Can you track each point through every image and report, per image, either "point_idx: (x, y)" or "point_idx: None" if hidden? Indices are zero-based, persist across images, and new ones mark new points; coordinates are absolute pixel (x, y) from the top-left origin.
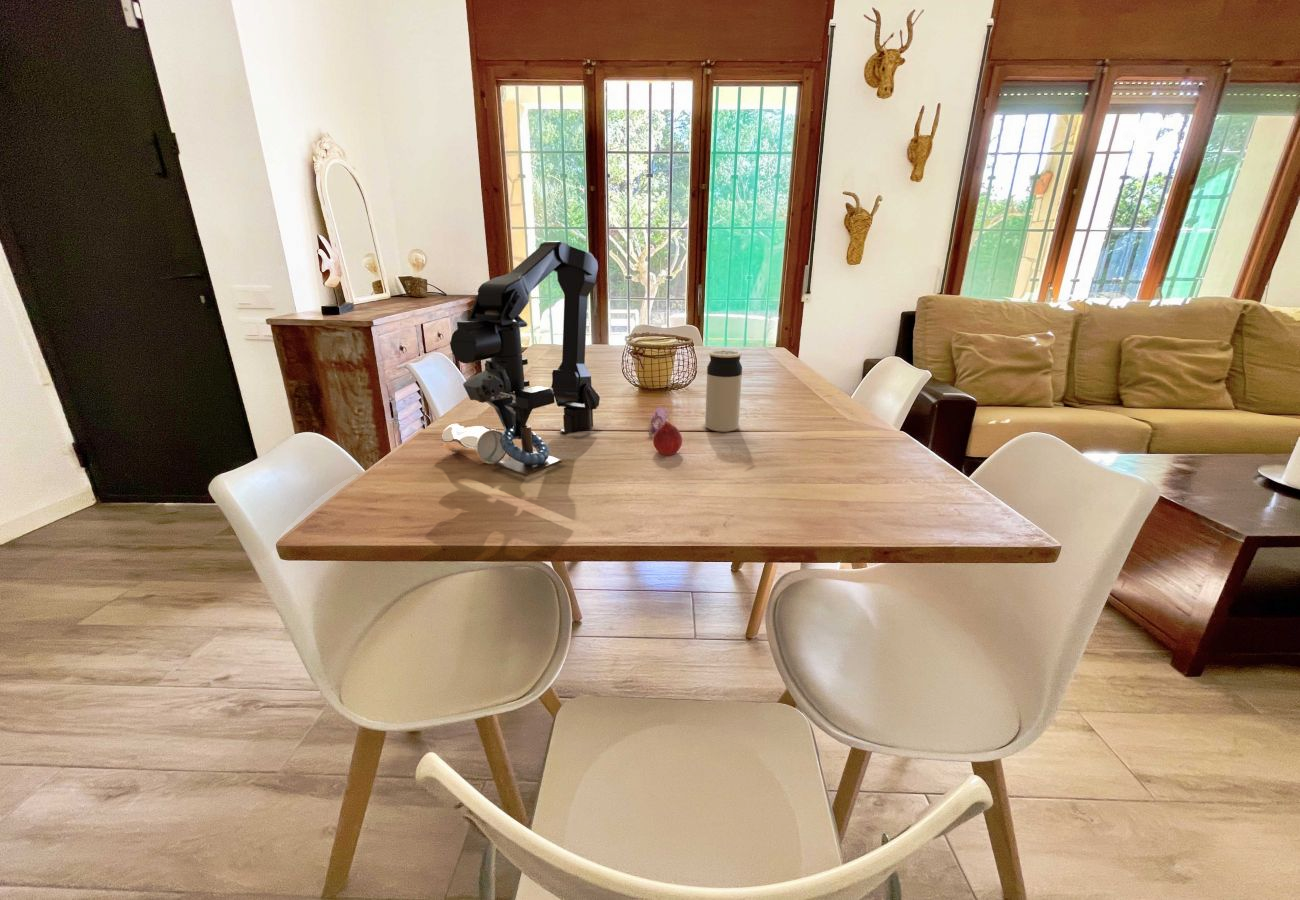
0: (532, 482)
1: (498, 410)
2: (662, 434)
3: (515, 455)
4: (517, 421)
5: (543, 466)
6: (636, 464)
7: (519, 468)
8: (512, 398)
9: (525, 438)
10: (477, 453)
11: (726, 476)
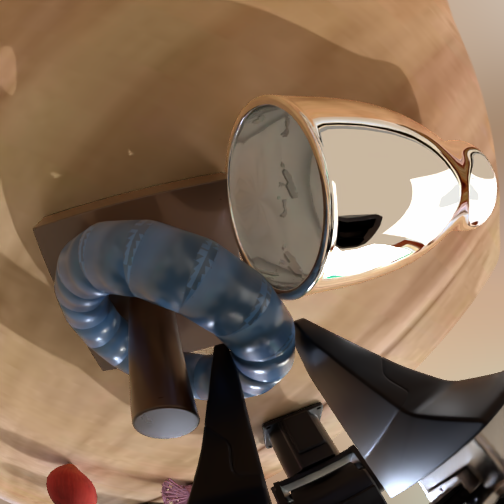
0: (30, 232)
1: (408, 395)
2: (57, 499)
3: (68, 247)
4: (205, 435)
5: None
6: (54, 436)
7: None
8: (394, 483)
9: (133, 365)
10: (257, 97)
11: None
